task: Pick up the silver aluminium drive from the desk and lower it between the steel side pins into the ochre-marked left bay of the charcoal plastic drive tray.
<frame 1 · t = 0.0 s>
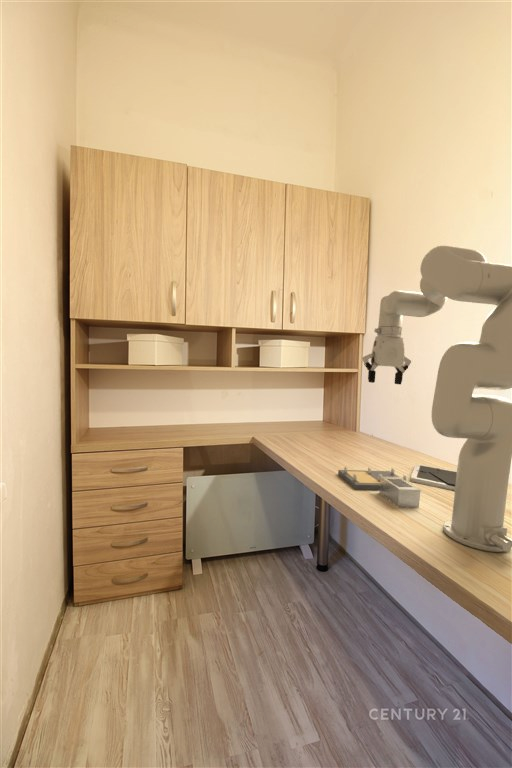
hand: (384, 383, 120), 31 cm above the table, tool pointing down, fingers open, 9 cm apart
picture frame: (437, 481, 120), on the table
drive: (397, 500, 97), on the table
drive tray: (373, 482, 111), on the table
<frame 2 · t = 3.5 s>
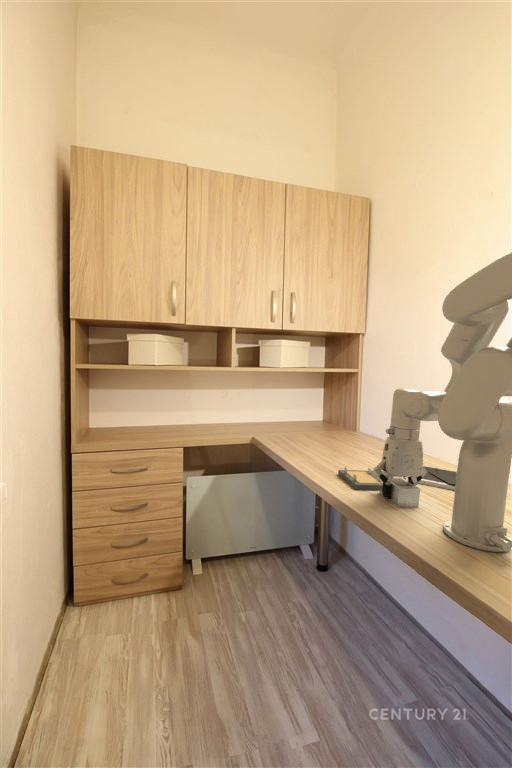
hand: (397, 497, 97), 1 cm above the table, tool pointing down, fingers closed on drive, 6 cm apart
drive: (397, 499, 97), on the table, touching gripper
everything else where it was.
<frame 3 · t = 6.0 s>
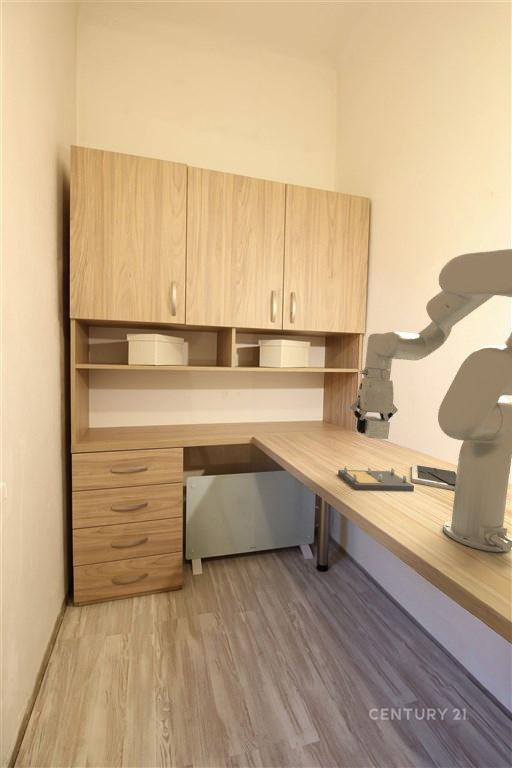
hand: (370, 432, 108), 16 cm above the table, tool pointing down, fingers closed on drive, 6 cm apart
drive: (370, 434, 108), point 16 cm above the table, touching gripper
everything else where it was.
when the fingers open (3 cm above the table, at t = 8.3 s): drive stays where it is, resting on drive tray.
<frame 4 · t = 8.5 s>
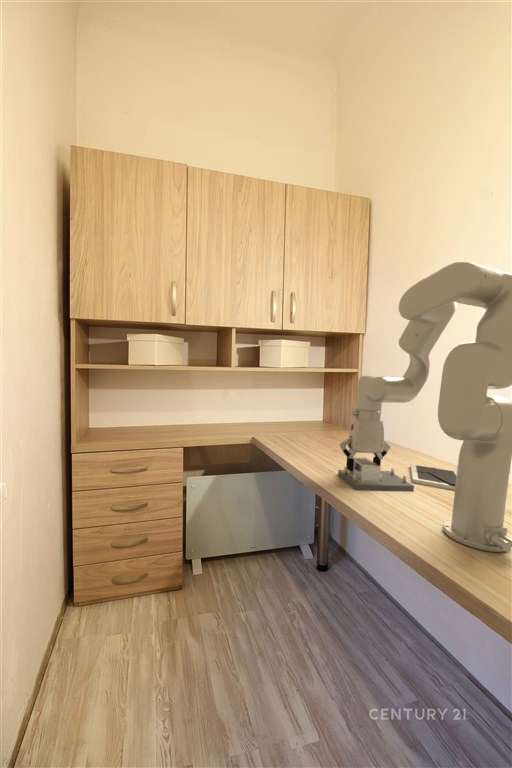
hand: (362, 470, 110), 4 cm above the table, tool pointing down, fingers open, 8 cm apart
drive: (362, 477, 110), point 2 cm above the table, touching drive tray
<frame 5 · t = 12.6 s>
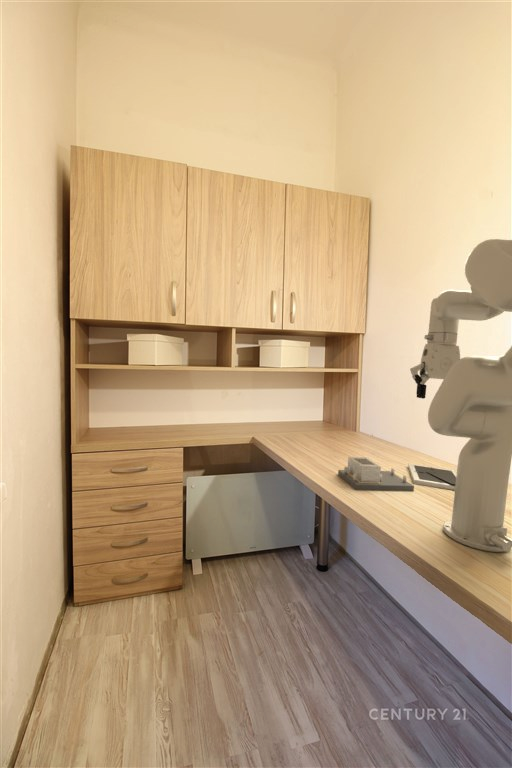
hand: (435, 398, 102), 28 cm above the table, tool pointing down, fingers open, 9 cm apart
at the end: drive 0.2 cm from the target spot on the drive tray, point 1.6 cm above the drive tray's base; drive tilted 0°; the gripper is holding nothing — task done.
